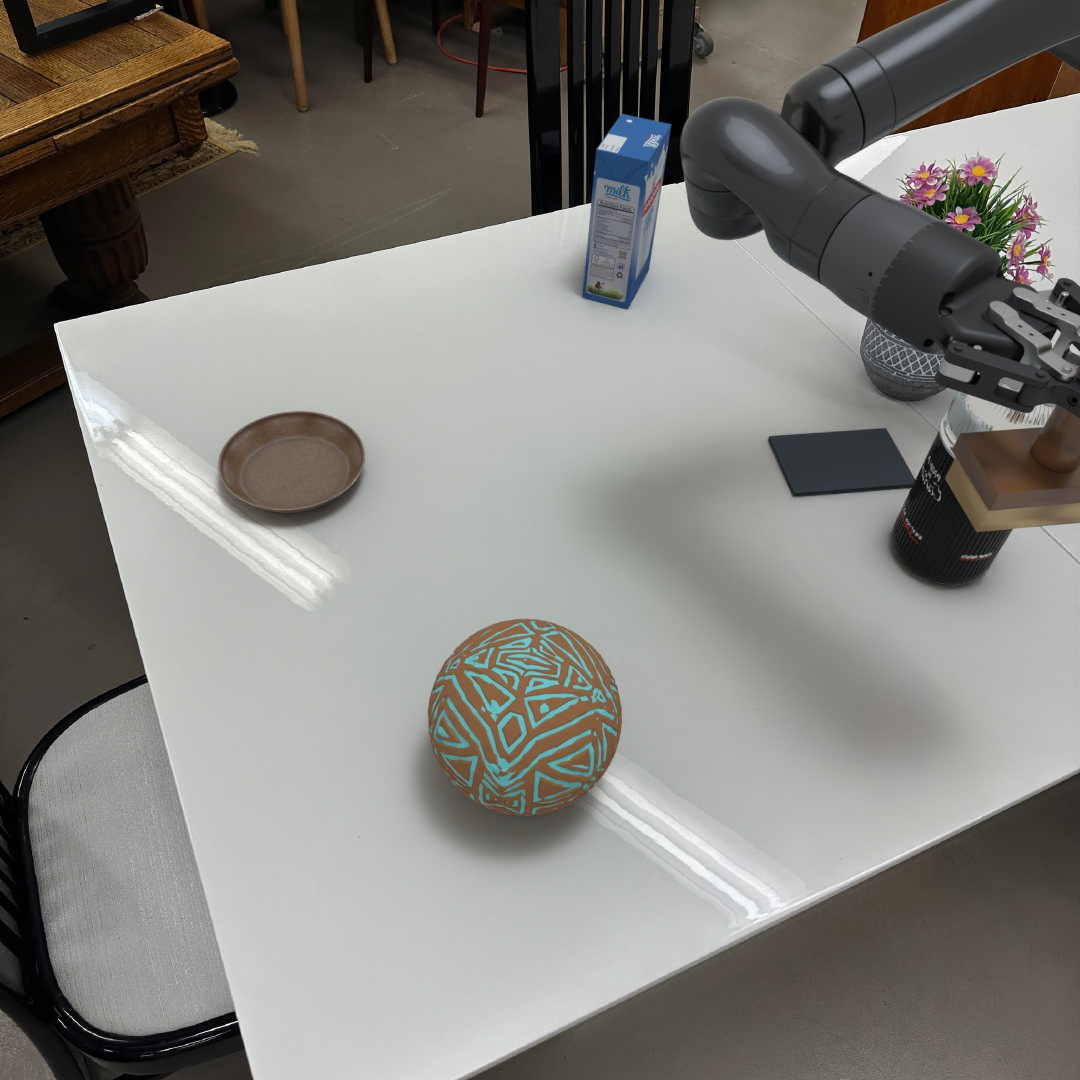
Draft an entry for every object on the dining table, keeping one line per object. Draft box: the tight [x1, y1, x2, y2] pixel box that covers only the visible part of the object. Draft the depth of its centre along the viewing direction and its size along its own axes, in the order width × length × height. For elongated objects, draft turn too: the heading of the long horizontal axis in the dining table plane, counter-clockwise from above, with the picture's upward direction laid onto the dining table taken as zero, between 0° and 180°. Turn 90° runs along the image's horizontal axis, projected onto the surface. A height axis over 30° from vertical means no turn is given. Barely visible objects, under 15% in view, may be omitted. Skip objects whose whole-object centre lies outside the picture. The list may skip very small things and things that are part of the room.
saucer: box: [217, 410, 366, 514], centre depth 100 cm, size 15×15×3 cm
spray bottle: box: [890, 367, 1055, 586], centre depth 89 cm, size 10×10×25 cm
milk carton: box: [582, 113, 672, 310], centre depth 120 cm, size 10×6×20 cm, turn 160°
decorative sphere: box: [427, 618, 623, 817], centre depth 75 cm, size 15×15×15 cm
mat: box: [767, 427, 916, 498], centre depth 106 cm, size 14×9×1 cm, turn 99°
